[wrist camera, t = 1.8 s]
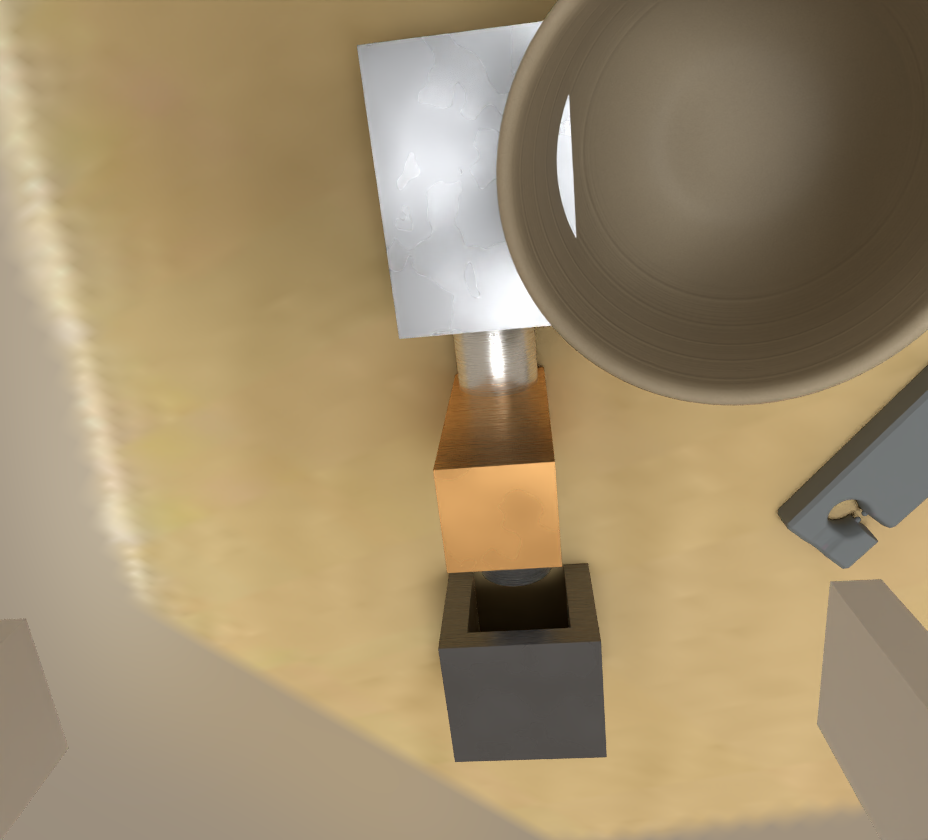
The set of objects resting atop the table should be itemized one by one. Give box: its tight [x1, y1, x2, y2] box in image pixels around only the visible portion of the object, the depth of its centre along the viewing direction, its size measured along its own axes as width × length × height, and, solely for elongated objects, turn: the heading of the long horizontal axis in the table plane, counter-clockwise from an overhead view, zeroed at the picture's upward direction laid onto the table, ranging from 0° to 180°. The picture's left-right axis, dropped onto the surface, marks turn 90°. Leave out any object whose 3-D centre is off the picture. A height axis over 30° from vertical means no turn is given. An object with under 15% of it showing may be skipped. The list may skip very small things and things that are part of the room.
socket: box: [438, 564, 607, 762], centre depth 36 cm, size 6×7×6 cm
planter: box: [496, 0, 928, 405], centre depth 23 cm, size 12×12×11 cm
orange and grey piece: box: [433, 327, 562, 586], centre depth 29 cm, size 19×4×10 cm, turn 6°
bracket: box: [778, 365, 928, 569], centre depth 34 cm, size 4×10×2 cm, turn 144°
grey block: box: [357, 21, 576, 339], centre depth 28 cm, size 10×7×5 cm
